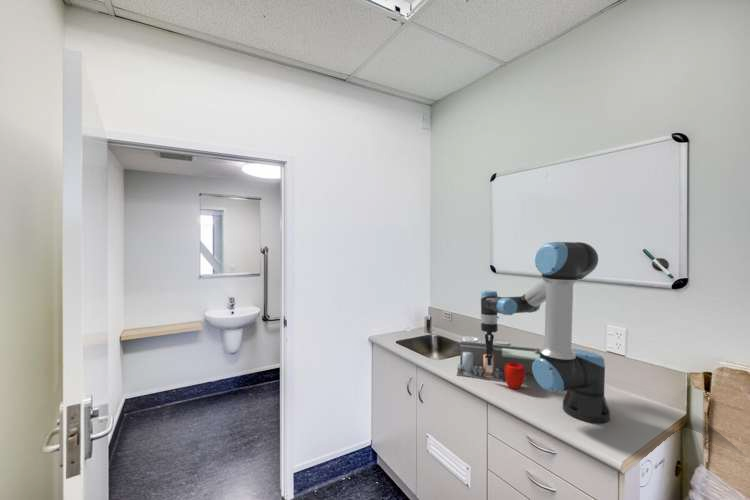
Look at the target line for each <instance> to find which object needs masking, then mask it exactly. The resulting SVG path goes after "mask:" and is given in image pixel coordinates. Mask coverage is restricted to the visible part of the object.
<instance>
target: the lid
mask: <svg viewBox="0 0 750 500" xmlns="http://www.w3.org/2000/svg"><path fill="white" fill-rule="evenodd" d="M502 357H511V358H520V359H529V360H536V359H537V358H540V351H539V350H535V352H534V351H524V350H514V349H505V348H502Z"/></svg>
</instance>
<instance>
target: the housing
mask: <svg viewBox="0 0 750 500" xmlns="http://www.w3.org/2000/svg"><path fill="white" fill-rule="evenodd" d="M459 348H460V350H459V351H460V352H459V354H460V358H459V359H460V361H459V364H458V365H457V373H456V376H459V377H465V378H471V379H473V378H474V379H480V380H486V381H487V380H488V381H495V382H505V380H504V379H505V375H504V367H505V364H507V363H511V362H515V363H519V364H521V365H523V366H524V368H525V374H530V375H533V371H532V364H533V362H534V361H535V360H529V359H520V358H511V357H502V348H505V349H514V350H524V351H534V352H535V350H539V351H540V349H541V348H536V347H525V346H518V345H517V346H516V345H515V346H514V345H511V346H508V345H498V344H493V345H492V348H494V351H492V355H493V356H494V376H486V375H484V374H483V355H484V354H487V344H486V342H482V343H480V342H479V341H478V342H468V341H463V340H460V345H459Z"/></svg>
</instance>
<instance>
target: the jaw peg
mask: <svg viewBox="0 0 750 500" xmlns="http://www.w3.org/2000/svg"><path fill="white" fill-rule="evenodd" d="M486 355H487V354H484V355H483V374H484V375H486V376H494V356H493V355H492V370H493V372H486V358H485V356H486Z"/></svg>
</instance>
